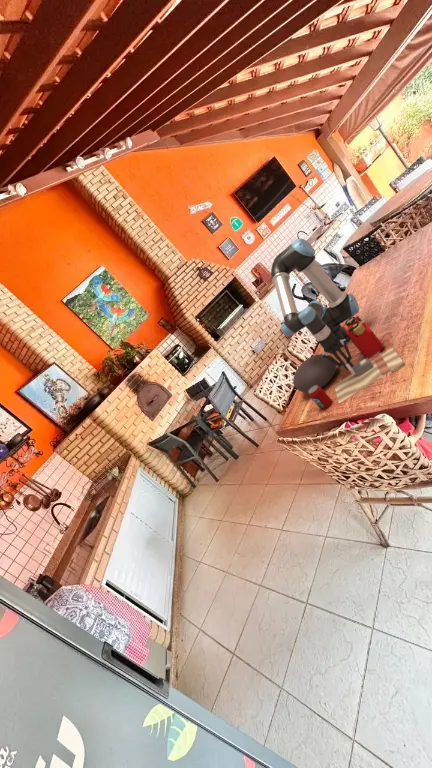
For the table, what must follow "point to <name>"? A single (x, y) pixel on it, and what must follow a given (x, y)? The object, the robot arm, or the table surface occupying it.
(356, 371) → the block
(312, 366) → the flattened ellipsoid
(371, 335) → the red mechanical device
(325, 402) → the beverage can
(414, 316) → the table surface
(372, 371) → the subfloor panel
